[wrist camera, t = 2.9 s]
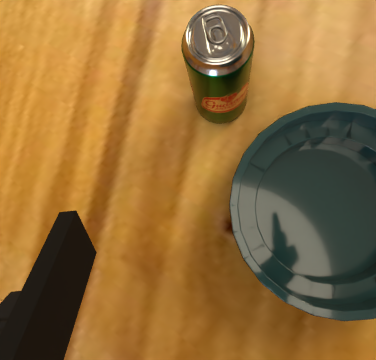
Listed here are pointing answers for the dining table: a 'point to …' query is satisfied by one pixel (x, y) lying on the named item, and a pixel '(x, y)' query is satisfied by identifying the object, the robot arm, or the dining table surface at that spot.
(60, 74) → the dining table surface
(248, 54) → the soda can
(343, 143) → the glazed bowl
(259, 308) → the dining table surface
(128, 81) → the dining table surface
